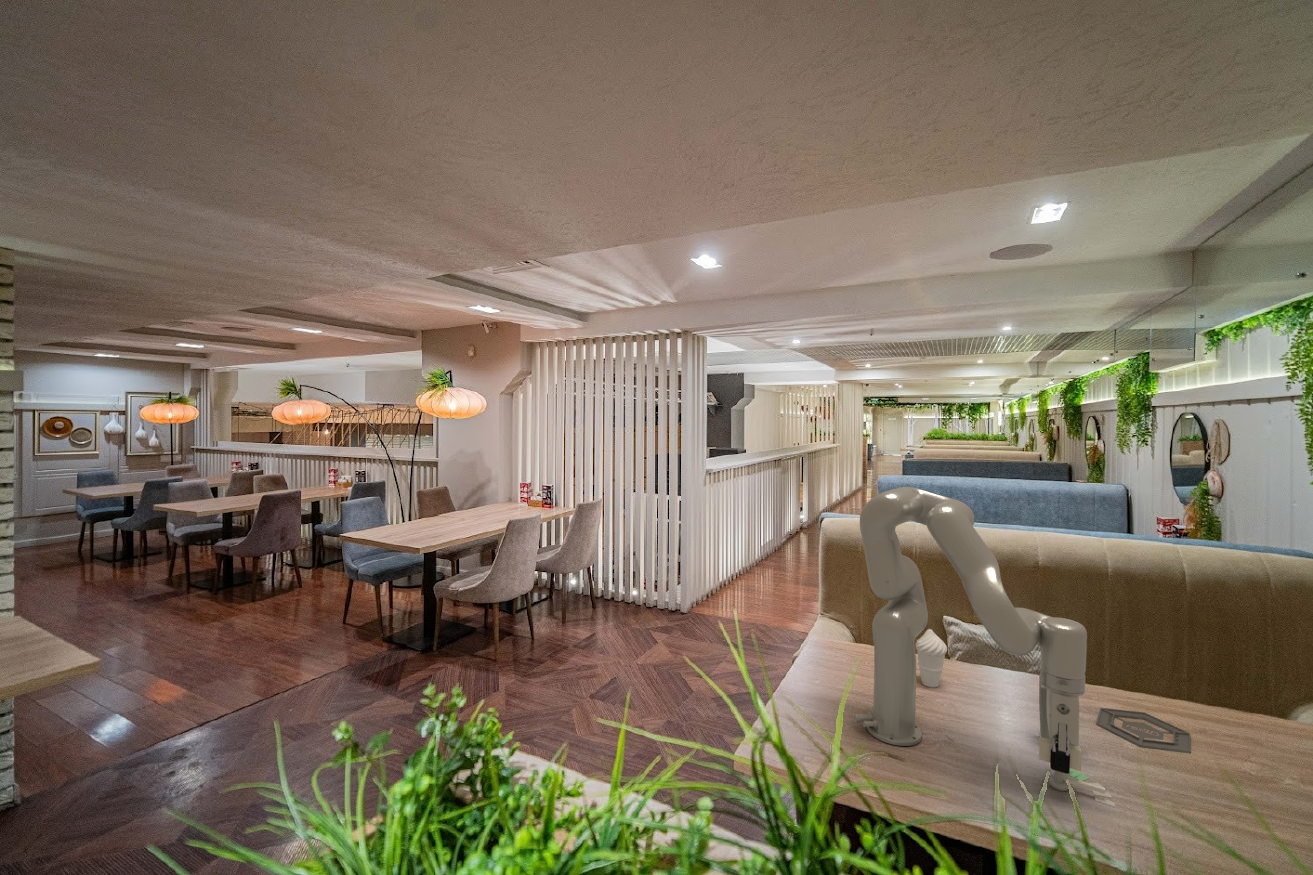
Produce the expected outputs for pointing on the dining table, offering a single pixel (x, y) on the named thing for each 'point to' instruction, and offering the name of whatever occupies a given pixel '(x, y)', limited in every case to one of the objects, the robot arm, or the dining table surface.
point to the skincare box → (1044, 712)
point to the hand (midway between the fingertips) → (1059, 766)
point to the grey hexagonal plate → (1179, 736)
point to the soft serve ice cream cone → (930, 658)
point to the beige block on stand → (1075, 763)
